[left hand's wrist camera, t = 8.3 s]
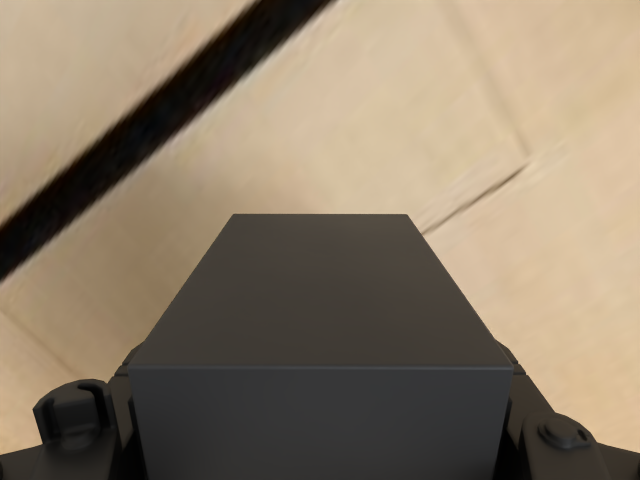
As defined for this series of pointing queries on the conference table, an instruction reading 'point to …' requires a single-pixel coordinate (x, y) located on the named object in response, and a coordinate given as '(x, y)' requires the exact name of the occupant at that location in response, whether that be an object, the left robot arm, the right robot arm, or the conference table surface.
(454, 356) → the bar
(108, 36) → the conference table surface
